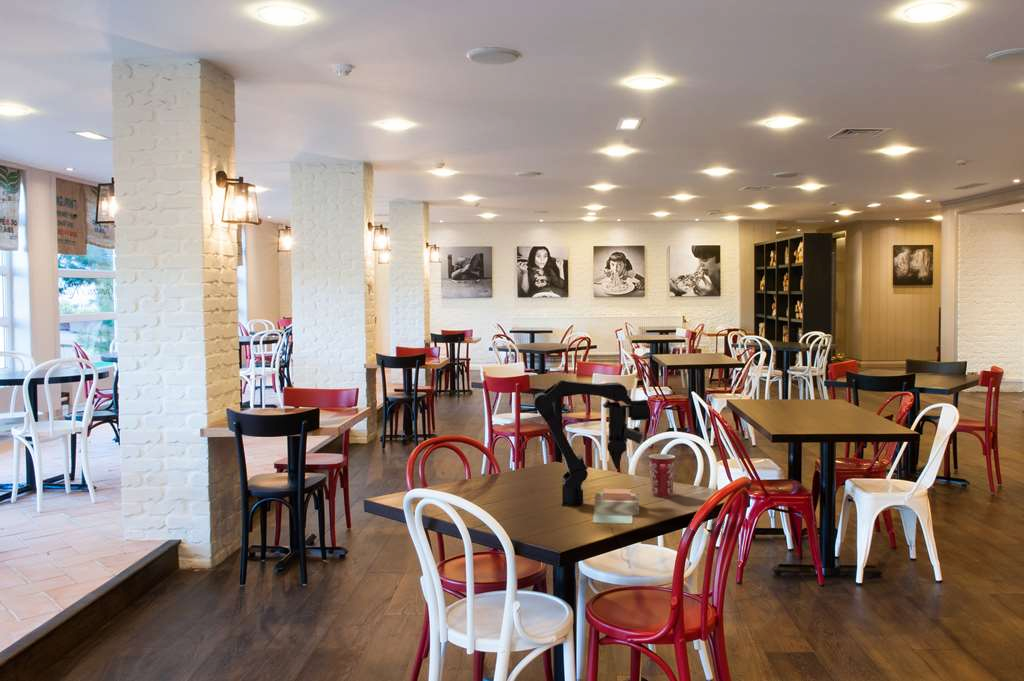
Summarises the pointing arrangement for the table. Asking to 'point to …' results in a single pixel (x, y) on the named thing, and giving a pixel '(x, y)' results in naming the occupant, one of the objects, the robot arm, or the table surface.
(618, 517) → the mat
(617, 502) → the deck
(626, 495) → the flat rectangular block
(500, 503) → the table surface
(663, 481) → the mug
